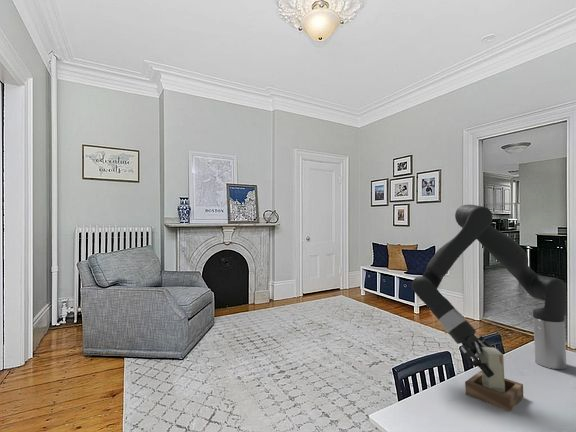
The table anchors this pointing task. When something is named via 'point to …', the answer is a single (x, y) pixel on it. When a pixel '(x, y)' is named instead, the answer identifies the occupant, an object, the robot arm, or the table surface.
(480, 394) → the block
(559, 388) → the table surface
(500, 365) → the skincare box
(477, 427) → the table surface
